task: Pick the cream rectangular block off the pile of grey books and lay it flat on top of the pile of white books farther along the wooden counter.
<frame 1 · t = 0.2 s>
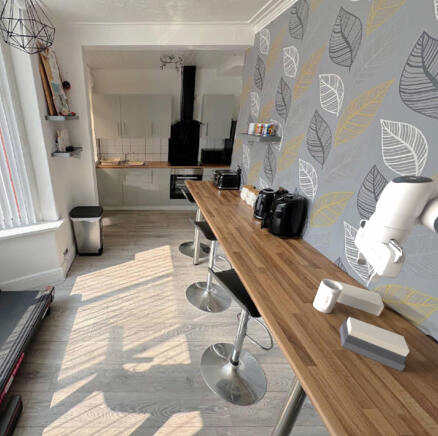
hand: (365, 272, 73), 28 cm above the table, tool pointing down, fingers open, 8 cm apart
cream rectangular block: (373, 338, 78), point 5 cm above the table, touching grey books
mug: (321, 310, 96), on the table
grey books: (367, 348, 80), on the table
white books: (353, 301, 101), on the table
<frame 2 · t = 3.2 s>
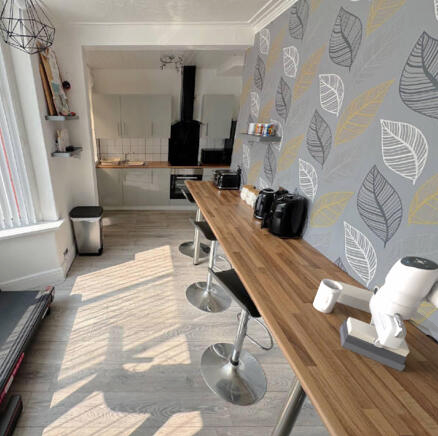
hand: (374, 336, 78), 6 cm above the table, tool pointing down, fingers closed on cream rectangular block, 6 cm apart
cream rectangular block: (373, 338, 78), point 5 cm above the table, touching grey books, gripper
everything else where it was.
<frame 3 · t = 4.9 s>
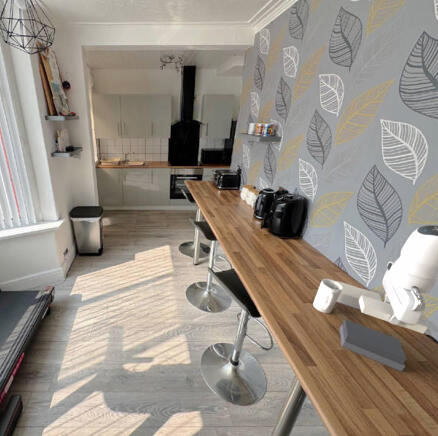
hand: (389, 314, 74), 16 cm above the table, tool pointing down, fingers closed on cream rectangular block, 6 cm apart
cream rectangular block: (388, 315, 74), point 15 cm above the table, touching gripper
everything else where it was.
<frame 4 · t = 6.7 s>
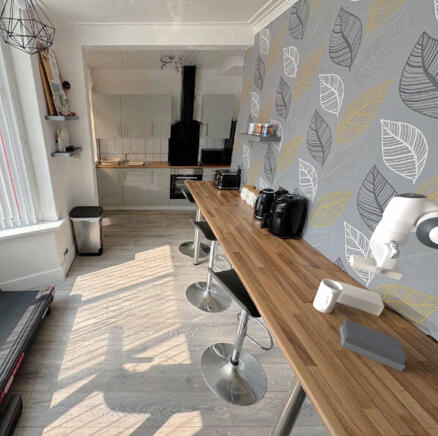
hand: (373, 267, 91), 19 cm above the table, tool pointing down, fingers closed on cream rectangular block, 6 cm apart
cream rectangular block: (372, 268, 91), point 18 cm above the table, touching gripper
everything else where it was.
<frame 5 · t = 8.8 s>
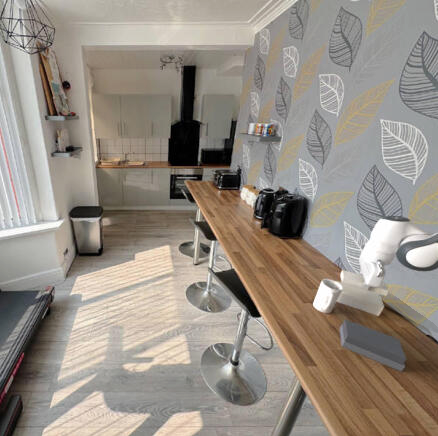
hand: (362, 283, 97), 10 cm above the table, tool pointing down, fingers closed on cream rectangular block, 6 cm apart
cream rectangular block: (361, 284, 97), point 9 cm above the table, touching gripper
everything else where it was.
when the fingers open (6 cm above the table, at t = 10.5 s): cream rectangular block stays where it is, resting on white books.
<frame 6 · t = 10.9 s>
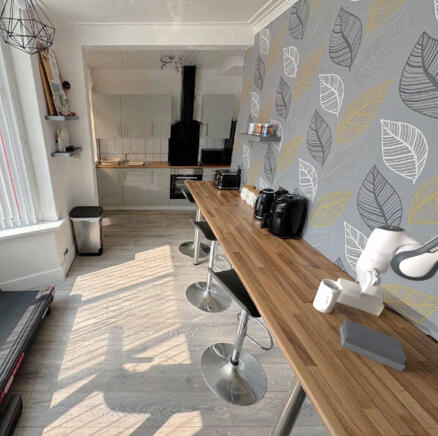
hand: (359, 290, 98), 6 cm above the table, tool pointing down, fingers open, 8 cm apart
cream rectangular block: (357, 292, 99), point 5 cm above the table, touching white books
everything else where it was.
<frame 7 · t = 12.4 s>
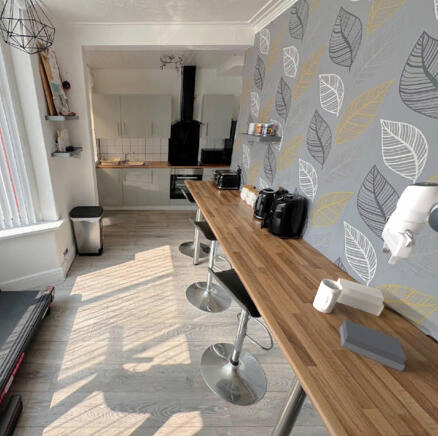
hand: (387, 257, 91), 23 cm above the table, tool pointing down, fingers open, 8 cm apart
nothing on the table moved.
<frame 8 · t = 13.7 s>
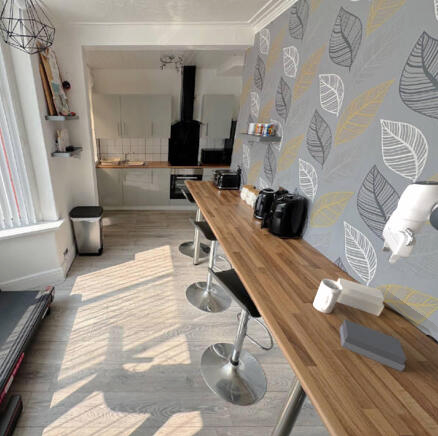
hand: (388, 256, 91), 23 cm above the table, tool pointing down, fingers open, 8 cm apart
nothing on the table moved.
at the end: cream rectangular block 0.1 cm off-centre on the white books, point 5.0 cm above the white books's base; cream rectangular block tilted 0°; the gripper is holding nothing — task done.
